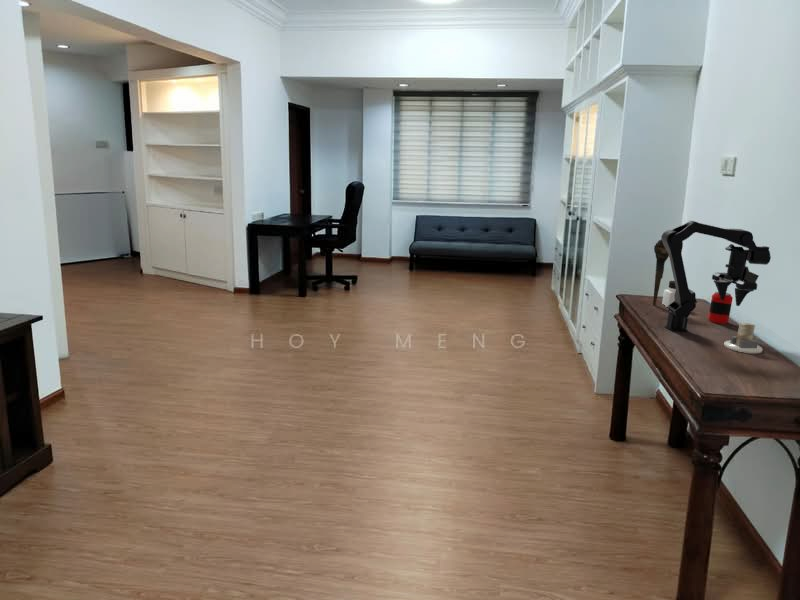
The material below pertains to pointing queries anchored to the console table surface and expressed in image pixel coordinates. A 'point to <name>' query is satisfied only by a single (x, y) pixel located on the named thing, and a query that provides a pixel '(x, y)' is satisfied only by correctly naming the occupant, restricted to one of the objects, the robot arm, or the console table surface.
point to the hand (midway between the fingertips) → (730, 302)
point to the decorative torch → (659, 266)
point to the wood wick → (745, 332)
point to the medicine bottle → (669, 294)
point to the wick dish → (743, 346)
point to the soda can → (720, 308)
